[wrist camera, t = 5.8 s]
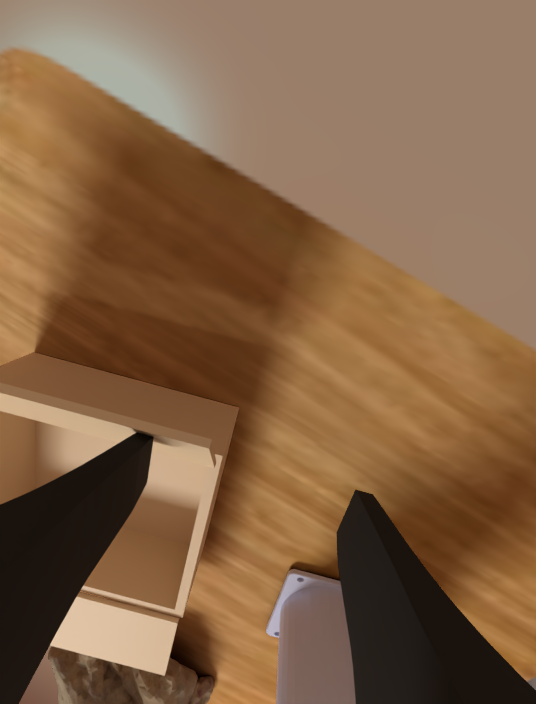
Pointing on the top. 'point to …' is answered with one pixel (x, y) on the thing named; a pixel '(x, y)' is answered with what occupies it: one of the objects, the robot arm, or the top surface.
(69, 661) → the artifact
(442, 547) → the top surface
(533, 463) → the top surface
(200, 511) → the carton
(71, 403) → the cardboard box flap
